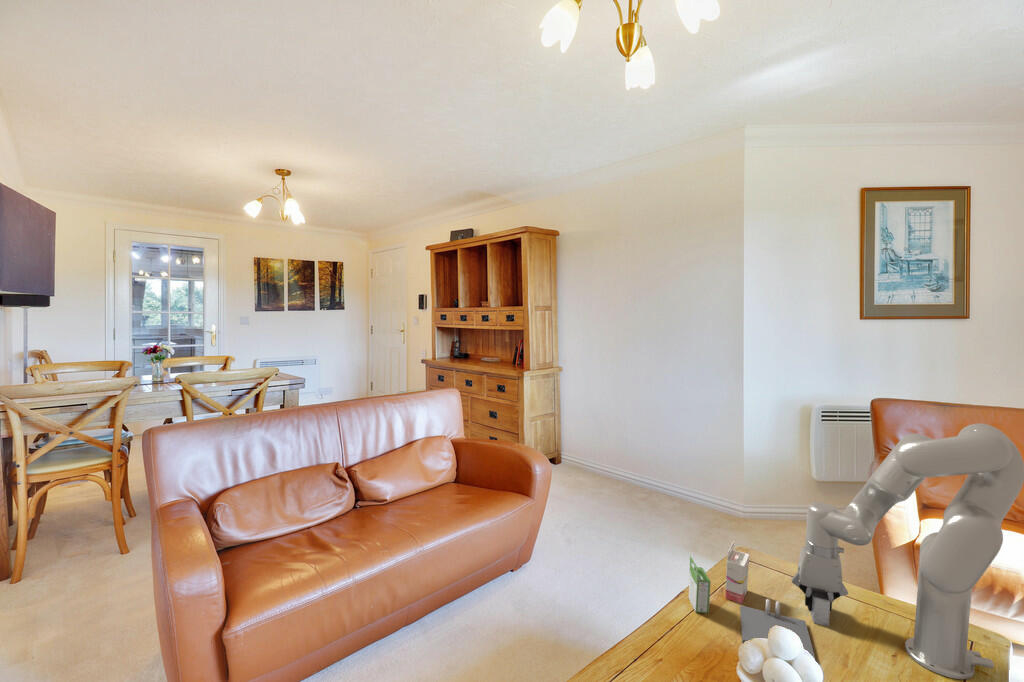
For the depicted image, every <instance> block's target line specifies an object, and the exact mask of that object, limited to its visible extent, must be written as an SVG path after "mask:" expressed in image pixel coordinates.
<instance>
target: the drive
mask: <svg viewBox="0 0 1024 682" xmlns="http://www.w3.org/2000/svg"><path fill="white" fill-rule="evenodd" d="M811 596H812V611H809V612H810V615H811V619H812V623H813V624H815V625H819V626H822V627H830V614H831V613H830V612H831V611H830V600H829V597H828V595H827V592H826V590H821V589H817V588H812V591H811Z"/></svg>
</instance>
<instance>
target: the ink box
mask: <svg viewBox="0 0 1024 682" xmlns="http://www.w3.org/2000/svg"><path fill="white" fill-rule="evenodd" d="M688 574H689V575H688V576H689V578H688V581H689V582H688V586H689V587H688V600H689V602H690V604H691V606H692V608H693V610H694V612H695V613H698V614H709V613H710V597H711V580H710V578H709V577H708V575H707V573H706V571H705V570H704V568H703V567H699V566H697V563H695V561H694V560H693V558H692V556H691V555H689V573H688Z"/></svg>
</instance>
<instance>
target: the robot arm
mask: <svg viewBox="0 0 1024 682" xmlns="http://www.w3.org/2000/svg"><path fill="white" fill-rule="evenodd" d="M962 475H967V476H966V478H965V480H964V481H963V484H962V486H961V487H960V489H959V490H958V492H957V493H956V494H955V496H954V497H953V498H952V500H951V502H949V504H948V505H947V507H946V508H945V509H944V511H943V521H942V525H941V527H940V529H939V530H938V532H937V531H936V532H932V533H930V534H927V535H926V536H925V537H924V538H923V539H922V541H921V543H920V545H919V546H920V547H919V563H918V564H919V565H918V577H917V578H918V579H917V580H918V581H917V592H916V607H915V619H914V633H913V637H910V638H908V639H907V640H905V642H904V643H905V644H904V647H905V648H904V649H905V652H906V653H907V654H908V655H909V656H910V658H911V659H912V660H914V661H915V662H916V663H918V664H919V665H920V666H922V667H924V668H926V669H927V670H929V671H931V672H934V673H935V674H939V675H941V676H944V677H947V678H951V679H956V680H968V679H971V678H973V677H974V675H975V667H976V666H980V667H982V668H988V669H993V670H994V667H995V665H994V661H993V660H992V659H991V658H987V657H982V655H981V654H982V653H981V652H980V651H975V650H971V649H968V638H969V635H968V634H969V628H970V627H969V626H970V615H971V605H972V594H973V593H972V591H973V588H974V587H975V586H976V584H977V583H978V582H979V581H980V579H981V578H982V576H983V575H984V574H985V573H986V572H987V569H988V568H989V567H990V565H991V564H992V563H993V561H994V560H995V559H996V557H997V556H998V554H999V552H1000V551H1001V549H1002V546H1003V542H1004V535H1003V529H1002V523H1003V521H1004V518H1006V516H1007V514H1008V512H1009V511H1010V509H1011V508H1012V506H1013V504H1014V503H1015V501H1016V499H1017V497H1018V496H1019V494H1020V493H1021V490H1022V489H1023V488H1022V487H1023V485H1024V460H1023V457H1022V455H1021V453H1020V451H1019V448H1018V447H1017V446H1016V444H1015V442H1013V440H1011V438H1010V437H1009V436H1008V435H1006V434H1005V433H1004V432H1003V431H1001V429H999V428H997V427H995V426H992V425H991V424H986V423H973V424H969V425H967V426H964V427H963V428H962V429H961V430H960V431H959V433H957V435H956V436H950V437H944V438H942V437H941V438H932V437H930V436H927V435H925V434H922V433H909V434H906V435H905V436H903V437H902V438H901V439H900V440H899V441H898V442H897V444H895V446H894V447H893V448H892V450H891V451H890V452H889V453H888V455H887V456H886V457H885V458H884V460H882V462H881V463H880V465H878V467H877V468H876V469H875V471H874V472H873V473H872V474H871V476H870V477H869V478H868V479H867V482H866V483H865V484H864V486H863V487H862V488H861V489H860V490H859V492H858V493H857V494H856V495H855V496H854V497H853V499H852V500H851V501H850V502H849V504H848V505H847V506H846V507H845V509H844V511H843V512H842V513H840V511H839V509H838V508H837V507H835V506H834V505H832V504H829V503H827V502H822V501H813V502H810V503H809V504H808V505H807V511H806V529H805V530H806V531H805V545H804V546H802V547H801V549H800V553H799V559H798V564H797V572H796V573H795V574H794V575H793V576H792V578H791V580H790V581H791V583H792V584H793V585H794V586H796V587H798V588H799V589H800V590H801V592H802V593H803V594H804V604H805V605H804V606H806V607H807V609H808V612H810V611H812V596H811V591H812V588H817V589H821V590H826V592H827V595H828V597H829V600H830V612H832V610H833V609H832V608H833V607H832V606H833V603H834V602H835V600H837V599H838V598H840V597H843V596H848V595H849V592H848V590H847V588H846V586H845V585H844V583H843V570H842V568H843V567H842V562H841V557H840V553H842V554H845V548H844V547H840V546H839V540H841V541H844V542H846V543H848V544H851V545H854V546H866V545H868V544H870V543H871V541H872V540H873V537H874V535H875V530H876V527H877V526H878V524H879V523H880V522H881V520H882V519H883V518H884V517H885V515H887V514H888V512H889V511H891V509H892V508H893V507H894V506H895V505H896V504H897V503H902V502H905V501H907V500H908V499H909V498H910V497H911V496H912V494H913V493H914V492H915V491H916V490H917V488H919V486H921V484H922V483H923V481H924V480H925V479H926V478H939V477H952V476H962Z"/></svg>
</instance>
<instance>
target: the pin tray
mask: <svg viewBox="0 0 1024 682" xmlns="http://www.w3.org/2000/svg"><path fill="white" fill-rule="evenodd" d="M739 606H740V607H739V608H740V609H739V610H740V613H739V614H740V625H741V626H740V627H741V641H742V644H744V643H743V642H745V641H748V640H751V639H753V638H768V633H769V630H770V628H772V627H773V626H775V625H778V626H782V627H785V628H787V629H790V630H792V631H793V632H795V633H796V634H797V635H798V636H799V637H800V639H801V641H802V643H803V647H804V649H805V650H807V651H808V652H809V653H810V654H811V655H812V656H813V657H814V658H815V659H816V655H815V653H814V649H813V645H812V642H811V637H810V634H809V631H808V626H807V622H806V620H803V619H799V618H794V617H791V616H786V615H782V614H780V612H781V609H780V607H781V602H780V601H778V600H777V601H775V612H771V609H770V608H771V600H770V599H768V598H765V610H761V609H756V608H753V607H749V606H746V605H742V604H741V605H739Z"/></svg>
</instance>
